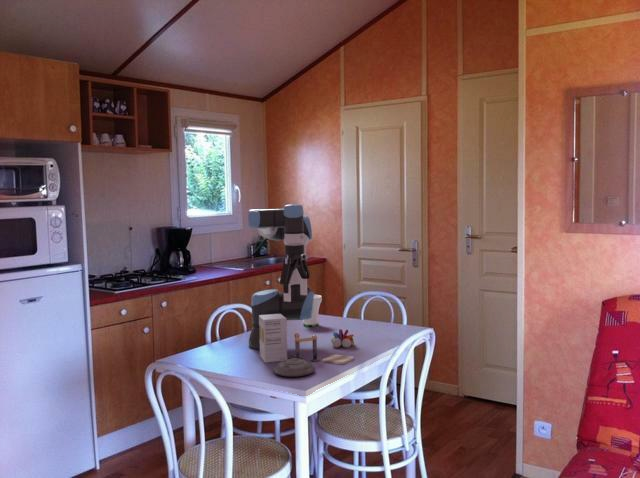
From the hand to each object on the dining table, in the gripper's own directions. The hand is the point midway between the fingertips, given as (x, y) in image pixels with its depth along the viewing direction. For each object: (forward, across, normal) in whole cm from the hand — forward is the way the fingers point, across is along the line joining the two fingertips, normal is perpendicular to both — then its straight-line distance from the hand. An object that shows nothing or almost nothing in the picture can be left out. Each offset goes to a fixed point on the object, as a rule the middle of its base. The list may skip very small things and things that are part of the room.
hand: (295, 298), depth 240 cm
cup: (+25, +52, +20) cm, 61 cm away
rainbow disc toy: (+24, +21, -10) cm, 34 cm away
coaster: (+23, +1, -18) cm, 29 cm away
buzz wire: (+23, -5, -5) cm, 24 cm away
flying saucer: (+23, -20, -9) cm, 32 cm away
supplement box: (+24, -6, +7) cm, 25 cm away
